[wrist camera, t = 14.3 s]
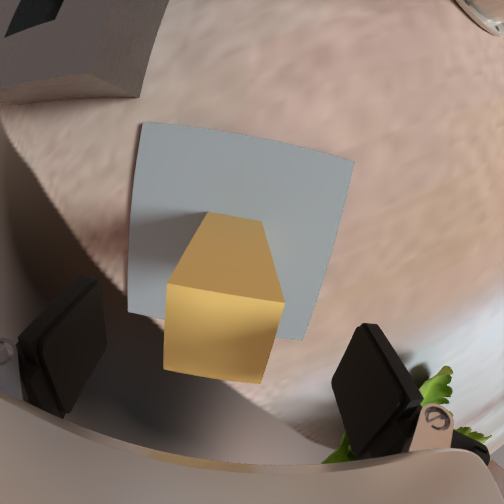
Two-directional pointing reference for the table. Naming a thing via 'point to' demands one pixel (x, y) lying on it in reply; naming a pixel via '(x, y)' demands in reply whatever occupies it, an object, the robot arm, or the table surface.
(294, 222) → the mat
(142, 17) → the hole block
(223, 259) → the peg
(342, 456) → the potted flower
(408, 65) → the table surface
